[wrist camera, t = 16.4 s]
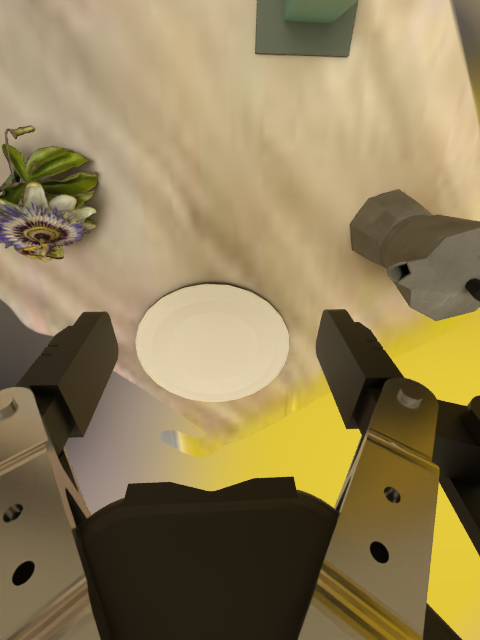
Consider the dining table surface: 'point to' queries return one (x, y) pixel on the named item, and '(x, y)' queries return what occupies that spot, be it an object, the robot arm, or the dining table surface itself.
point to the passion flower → (44, 200)
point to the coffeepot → (422, 253)
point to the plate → (212, 342)
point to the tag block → (315, 10)
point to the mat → (301, 33)
